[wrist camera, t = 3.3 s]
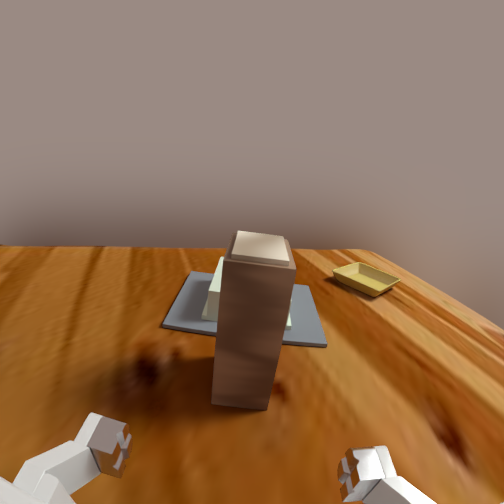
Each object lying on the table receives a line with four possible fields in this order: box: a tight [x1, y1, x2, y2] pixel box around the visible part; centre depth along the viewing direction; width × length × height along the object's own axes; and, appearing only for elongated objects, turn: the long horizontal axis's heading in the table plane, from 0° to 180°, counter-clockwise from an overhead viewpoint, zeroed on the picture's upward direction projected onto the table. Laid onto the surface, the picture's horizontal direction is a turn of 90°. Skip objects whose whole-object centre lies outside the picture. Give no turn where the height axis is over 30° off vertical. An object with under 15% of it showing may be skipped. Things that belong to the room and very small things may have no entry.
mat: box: [163, 271, 327, 347], centre depth 35 cm, size 16×14×1 cm
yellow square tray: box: [332, 262, 401, 297], centre depth 46 cm, size 9×9×2 cm
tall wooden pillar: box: [211, 231, 296, 410], centre depth 21 cm, size 4×6×11 cm, turn 178°
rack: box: [202, 257, 292, 330], centre depth 35 cm, size 9×10×3 cm
